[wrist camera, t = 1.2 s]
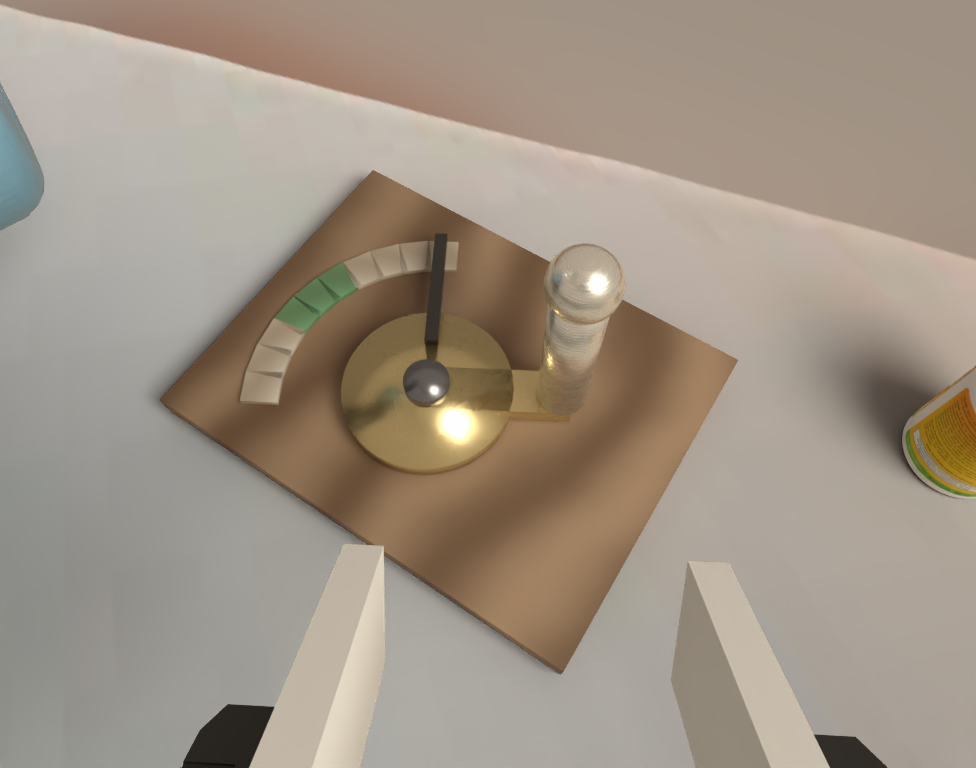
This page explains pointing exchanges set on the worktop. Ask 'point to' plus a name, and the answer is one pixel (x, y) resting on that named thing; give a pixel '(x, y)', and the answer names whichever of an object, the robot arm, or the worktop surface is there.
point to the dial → (476, 369)
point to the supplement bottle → (945, 439)
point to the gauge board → (504, 467)
